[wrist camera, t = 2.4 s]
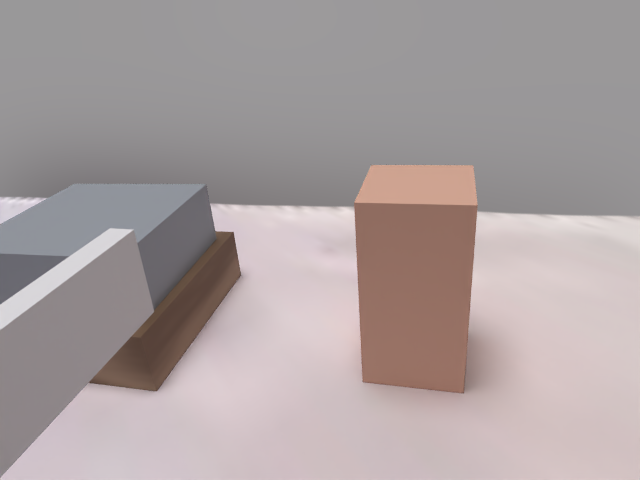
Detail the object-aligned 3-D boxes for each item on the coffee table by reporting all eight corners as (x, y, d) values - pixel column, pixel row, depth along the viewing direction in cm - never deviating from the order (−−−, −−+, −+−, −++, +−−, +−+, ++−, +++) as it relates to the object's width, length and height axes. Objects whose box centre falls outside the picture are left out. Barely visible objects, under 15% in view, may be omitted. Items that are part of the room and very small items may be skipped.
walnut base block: (241, 280, 36) (233, 232, 35) (158, 398, 26) (140, 337, 24) (102, 272, 39) (88, 227, 38) (-23, 375, 29) (-51, 319, 27)
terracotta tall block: (462, 331, 28) (473, 165, 24) (463, 393, 24) (477, 205, 20) (376, 324, 30) (371, 165, 25) (362, 382, 25) (354, 202, 21)
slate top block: (216, 238, 34) (206, 184, 32) (139, 326, 25) (119, 258, 23) (90, 235, 36) (74, 183, 34) (-20, 314, 27) (-50, 251, 26)
